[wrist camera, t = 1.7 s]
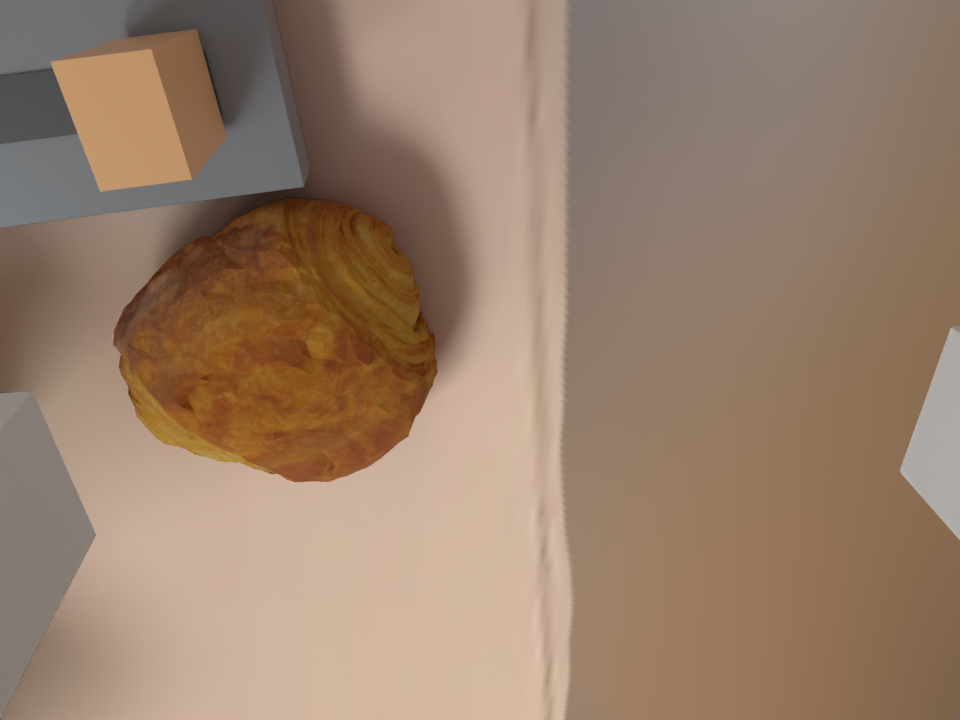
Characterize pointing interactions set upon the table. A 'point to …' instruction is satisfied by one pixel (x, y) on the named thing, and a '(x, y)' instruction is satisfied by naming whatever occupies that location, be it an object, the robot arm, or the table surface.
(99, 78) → the block
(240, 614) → the table surface
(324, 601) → the table surface
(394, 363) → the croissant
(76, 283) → the table surface
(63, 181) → the panel
